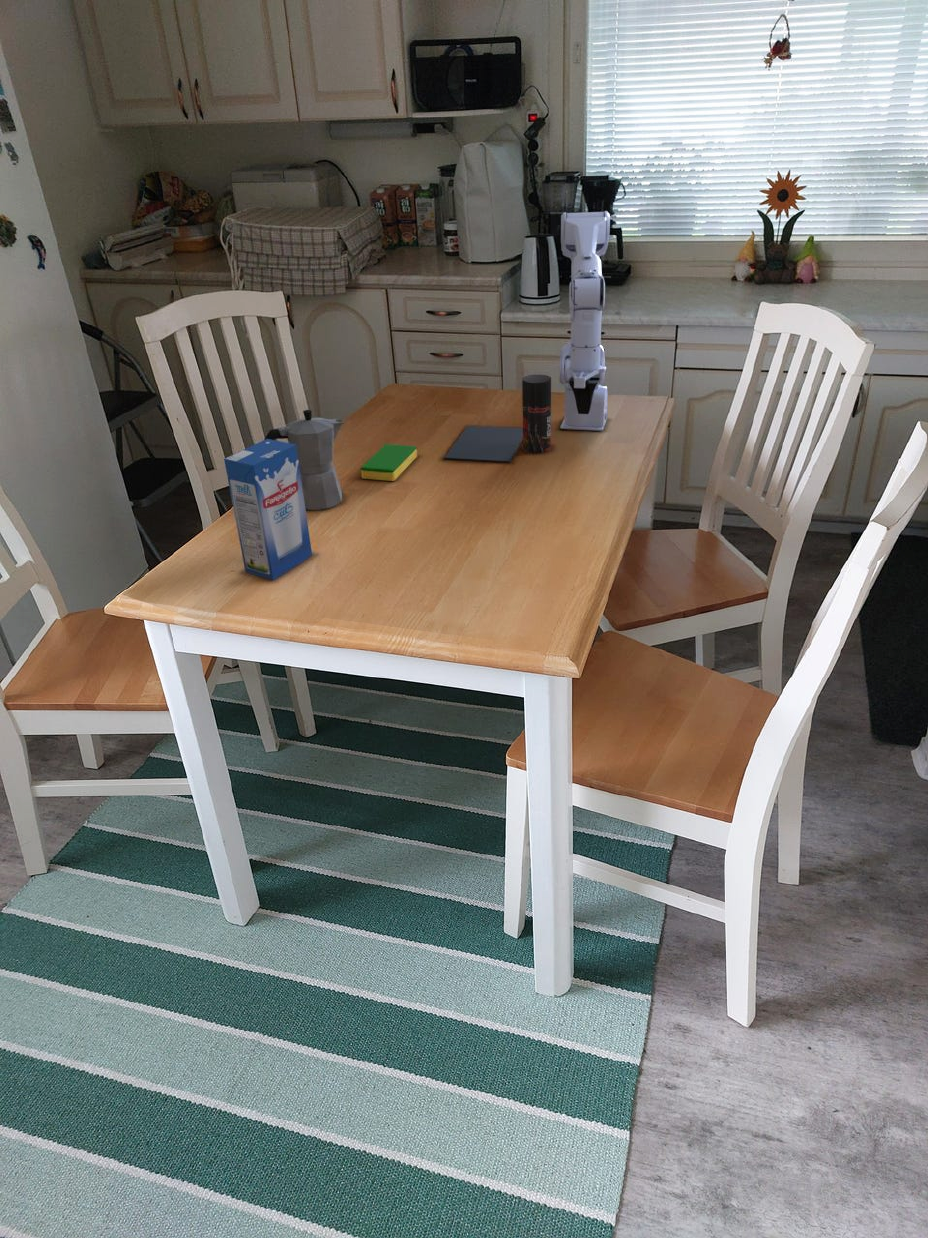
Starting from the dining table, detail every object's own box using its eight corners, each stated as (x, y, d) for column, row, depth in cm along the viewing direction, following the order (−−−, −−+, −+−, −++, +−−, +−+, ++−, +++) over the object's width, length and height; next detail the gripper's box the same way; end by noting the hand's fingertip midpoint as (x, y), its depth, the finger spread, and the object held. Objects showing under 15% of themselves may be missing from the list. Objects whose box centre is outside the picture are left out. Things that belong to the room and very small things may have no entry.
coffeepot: (343, 485, 183) (333, 396, 173) (360, 501, 175) (350, 410, 166) (268, 502, 177) (253, 411, 168) (282, 519, 170) (267, 426, 160)
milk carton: (273, 580, 150) (253, 465, 139) (245, 572, 153) (223, 458, 142) (312, 555, 157) (296, 444, 146) (285, 547, 160) (267, 438, 149)
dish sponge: (361, 478, 185) (359, 467, 184) (386, 454, 196) (385, 443, 195) (394, 481, 183) (393, 470, 182) (417, 456, 194) (416, 445, 193)
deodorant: (548, 453, 192) (549, 383, 185) (520, 452, 194) (520, 382, 186) (552, 443, 197) (552, 374, 190) (524, 442, 198) (524, 374, 191)
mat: (528, 429, 205) (528, 428, 205) (509, 462, 189) (509, 461, 189) (467, 426, 209) (467, 425, 208) (444, 459, 192) (444, 457, 192)
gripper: (601, 355, 168) (599, 426, 176) (611, 334, 180) (608, 401, 187) (563, 354, 170) (562, 424, 177) (575, 333, 182) (574, 400, 189)
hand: (583, 412), depth 182 cm, fingers closed
